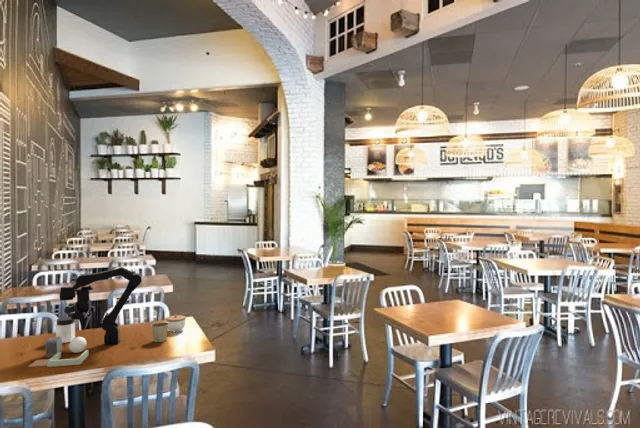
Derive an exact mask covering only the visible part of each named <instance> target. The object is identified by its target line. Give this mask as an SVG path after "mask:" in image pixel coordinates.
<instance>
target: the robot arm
mask: <svg viewBox="0 0 640 428" xmlns="http://www.w3.org/2000/svg"><path fill="white" fill-rule="evenodd" d="M119 276H121V277H122V278H124V279H126V280H127V281H128V282H127V285H126V287H125V289H124V291H123V292H122V294H121V295H120V297H119V298H118V300H117V301H116V303H115V305H114V306H113V308H112V310H111V311H110V312H105V315H104V317H103V318H102V319H101V329H102V330H104V331H105V332H104V335H103V338H104V339H103V342H104V346H110V345H111V346H112V345H113V346H116V345H118V344H119V343H120V342H121V339H120V330H119V324H118V323H117V322H116V321H117V319H118V315H119V313H120V312H121V311H122V309H123V307H124V306H125V304H126V303H127V301H128V300H129V298H130V296H131V295H132V293H133V292H134V291H135V290H136V289H137V287H139V286H140V284H141V283H142V281H143V279H142V275H141V274H140V273H139V272H137V273H136V272H135V273H134V272H132V271H131V270H128V269H127V268H125V267H123V266H120V267H117V268H114V269H109V270H104V271H100V272H95V273H94V272H93V273H81V274H80V275H79V276H77V277H76V279H75V283H74V284H73V285H72V286H61V287H60V290H59V291H60V292H59V300H60V302H62V301H63V302H64V301H73V300H74V299H75V298H76V302H75V303H74V304H73V305H67V306H65V307H64V309H63V311H64V312H63V313H65V314H66V316H67V315H69V314H71V313H72V314H71V316H70V317H71V320H74V321H75V320H76V321H77V320H78V321H79V323H80V326H81V328H82V330H86V328H87V326H88V324H89V321H90V319H91V316H92V315H93V313H90V312H96V306H94V305H90V304H91V303H92V302H91V301H92V299H90V291H93V290H94V287H93V286H92V284H93V283H95V282H98V281H102V280H105V279H106V280H107V279H110V278H111V279H112V278H114V277H119Z"/></svg>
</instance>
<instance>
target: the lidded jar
mask: <svg viewBox="0 0 640 428" xmlns="http://www.w3.org/2000/svg"><path fill="white" fill-rule="evenodd" d="M165 323H169V325H168V329H167V330H168V331H170V332H171V331H173V332H172V333H175V332H174V331H180V330H183V329H184V328H185V326H186V315H181V314H180V315H179V314H178V315H177V314H174V315H170V316H167V317H166V318H165ZM180 332H181V331H180Z"/></svg>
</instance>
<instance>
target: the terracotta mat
mask: <svg viewBox="0 0 640 428" xmlns="http://www.w3.org/2000/svg"><path fill="white" fill-rule="evenodd" d="M49 359H50V358H48V359H47V358H45V359H36V360H34V362H32V363H30V364H29V365H28V368H31V367H43V366H44V367H46V366H47V361H48V360H49Z"/></svg>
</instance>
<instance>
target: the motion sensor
mask: <svg viewBox="0 0 640 428" xmlns="http://www.w3.org/2000/svg"><path fill="white" fill-rule="evenodd" d="M67 346H68V347H67V348H68V350H69V351H70V352H71V353H74V354H78V353H81V352H83V351H85V349H86V347H87V340H86V338H84V337H83V336H75V338H73V339H72V342H69V344H68V345H67Z"/></svg>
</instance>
